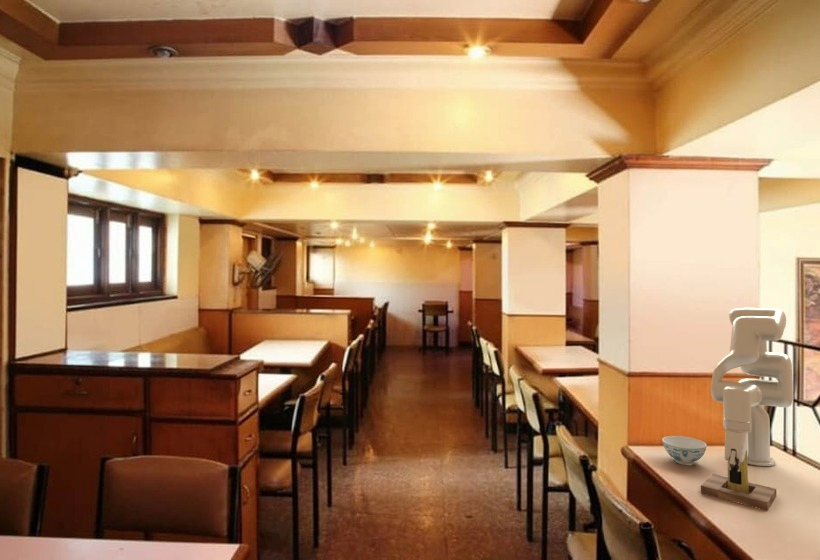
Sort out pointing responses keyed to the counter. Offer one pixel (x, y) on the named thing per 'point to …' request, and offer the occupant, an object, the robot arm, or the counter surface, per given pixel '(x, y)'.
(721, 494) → the vase stand
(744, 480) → the vase
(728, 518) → the counter surface
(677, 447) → the chinaware
